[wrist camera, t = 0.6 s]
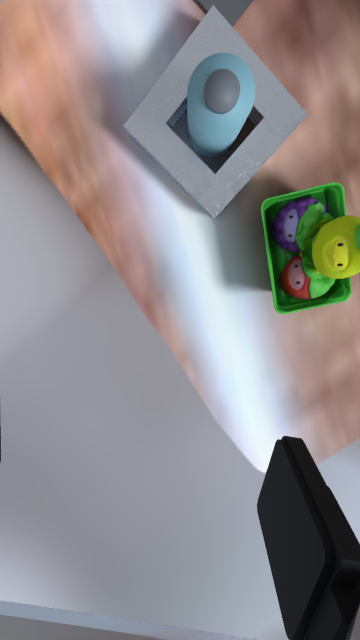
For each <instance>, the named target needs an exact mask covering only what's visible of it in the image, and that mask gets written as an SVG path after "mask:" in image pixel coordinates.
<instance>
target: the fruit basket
mask: <svg viewBox="0 0 360 640" xmlns="http://www.w3.org/2000/svg"><path fill="white" fill-rule="evenodd" d="M261 215H262V222H263V229H264V236H265V243H266V253H267V260H268V268H269V274H270V279H271V287H272V294H273V302H274V308H275V310H276V312H278V313H279V314H288V313H292V312H297V311H301V310H306V309H311V308H316V307H321V306H326V305H331V304H336V303H342V302H345V301H346V300H348V299H349V297H350V295H351V280H350V276H353V275H355V274H357V273H359V272H360V218H359V217H355V216H348V215H347V216H346V210H345V196H344V189H343V187H342V185H341V184H339V183H335V182H334V183H329V184H325V185H321V186H317V187H313V188H308V189H305V190H300V191H296V192H292V193H288V194H283V195H279V196H275V197H271V198H268V199H266V200H265V201H264V202H263V203H262V205H261Z"/></svg>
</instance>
